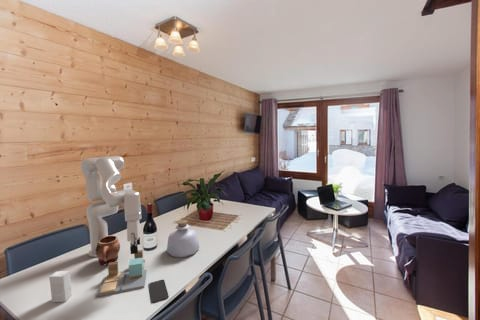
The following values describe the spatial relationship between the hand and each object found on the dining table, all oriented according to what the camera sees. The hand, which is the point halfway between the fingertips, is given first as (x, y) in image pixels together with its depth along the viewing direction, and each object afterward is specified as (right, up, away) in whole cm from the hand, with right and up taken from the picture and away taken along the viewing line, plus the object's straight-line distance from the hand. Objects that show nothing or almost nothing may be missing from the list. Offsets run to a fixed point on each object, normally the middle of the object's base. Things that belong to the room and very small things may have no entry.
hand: (135, 248), depth 117 cm
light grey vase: (+17, -12, +29) cm, 36 cm away
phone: (+15, -17, -9) cm, 24 cm away
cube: (0, -13, +2) cm, 13 cm away
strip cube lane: (-2, -13, +6) cm, 15 cm away
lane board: (-4, -16, -3) cm, 16 cm away
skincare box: (-27, -17, -14) cm, 35 cm away
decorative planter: (-22, -14, +15) cm, 31 cm away
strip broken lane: (-11, -14, -2) cm, 18 cm away
